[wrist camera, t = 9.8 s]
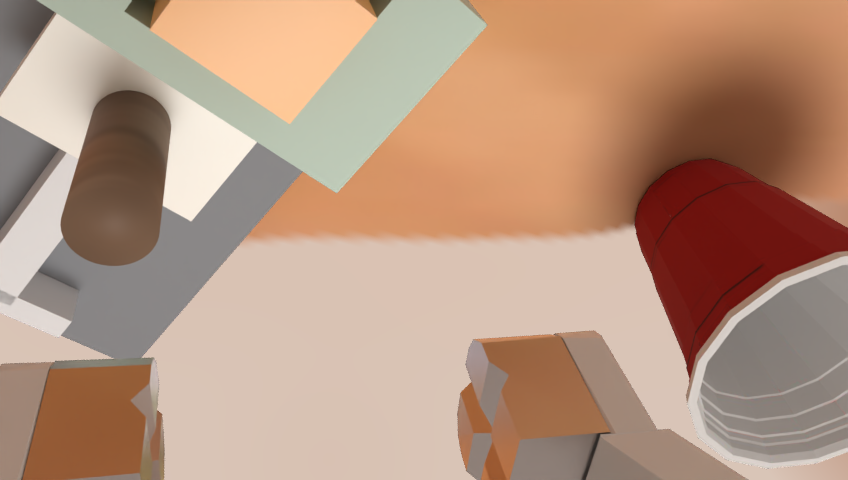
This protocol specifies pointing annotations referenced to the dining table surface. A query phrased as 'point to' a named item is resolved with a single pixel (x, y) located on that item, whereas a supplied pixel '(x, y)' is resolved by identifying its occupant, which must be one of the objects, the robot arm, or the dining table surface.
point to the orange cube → (266, 43)
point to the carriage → (118, 141)
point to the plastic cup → (752, 311)
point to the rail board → (239, 194)
